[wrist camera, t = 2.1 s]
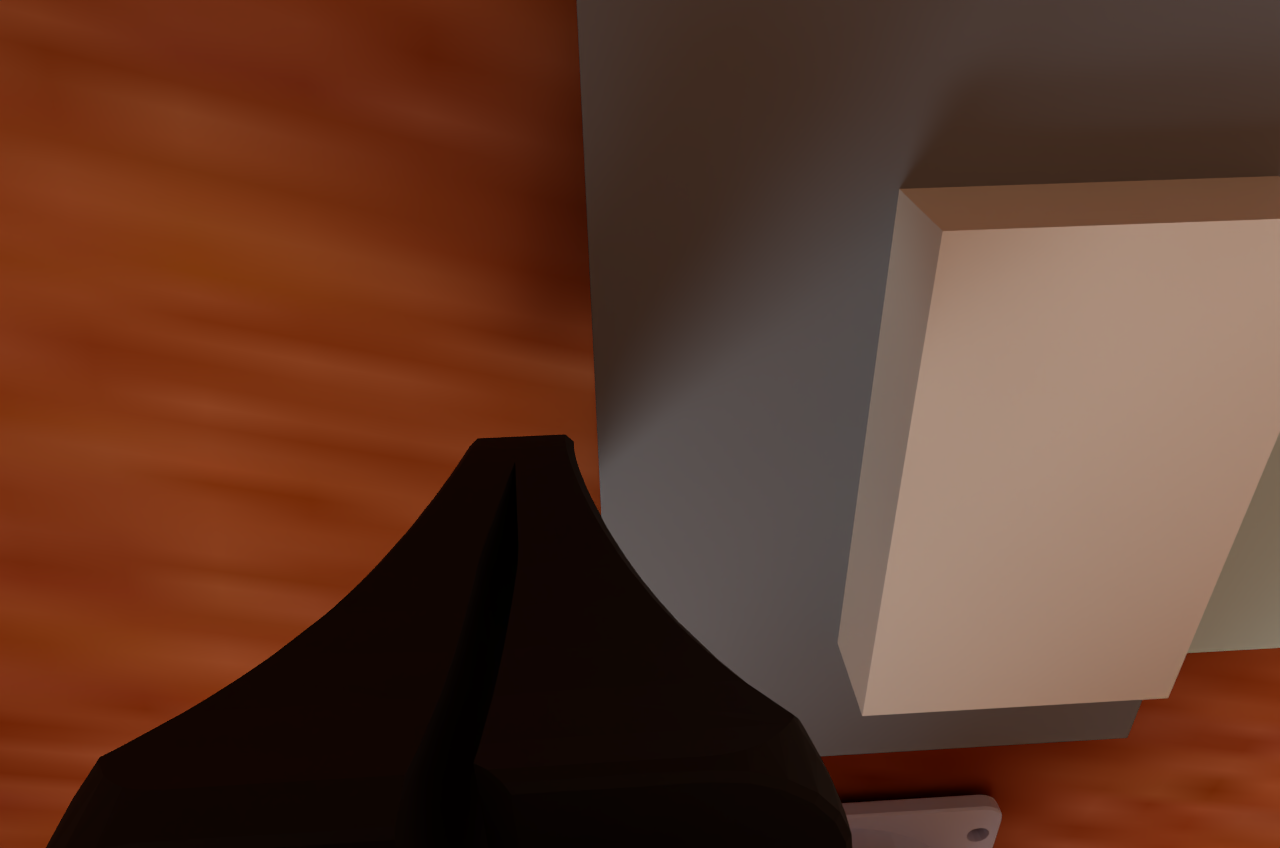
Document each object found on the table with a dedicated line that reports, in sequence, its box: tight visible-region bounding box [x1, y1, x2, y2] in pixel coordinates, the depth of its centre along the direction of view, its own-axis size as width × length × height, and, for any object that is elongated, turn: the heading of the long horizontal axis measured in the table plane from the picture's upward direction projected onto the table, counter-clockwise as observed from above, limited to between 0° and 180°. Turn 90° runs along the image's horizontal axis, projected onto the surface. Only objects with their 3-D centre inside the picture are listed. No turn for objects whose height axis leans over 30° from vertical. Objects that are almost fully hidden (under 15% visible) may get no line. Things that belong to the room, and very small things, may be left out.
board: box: [577, 0, 1280, 756], centre depth 14 cm, size 14×10×2 cm
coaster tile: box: [838, 176, 1280, 716], centre depth 13 cm, size 8×5×2 cm, turn 1°
